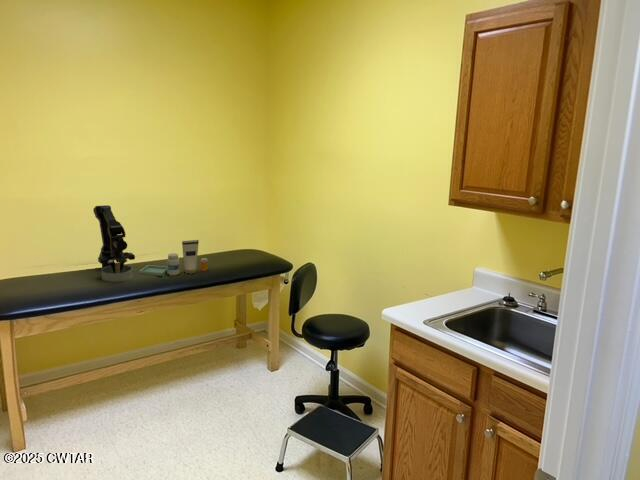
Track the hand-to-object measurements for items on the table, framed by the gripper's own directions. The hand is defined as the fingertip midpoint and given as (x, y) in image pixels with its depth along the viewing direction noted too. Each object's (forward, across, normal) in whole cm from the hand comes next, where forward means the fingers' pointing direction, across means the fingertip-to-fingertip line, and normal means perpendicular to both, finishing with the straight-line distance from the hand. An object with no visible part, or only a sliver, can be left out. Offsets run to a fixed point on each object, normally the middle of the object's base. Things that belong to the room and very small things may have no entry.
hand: (117, 272), depth 259 cm
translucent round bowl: (+4, 0, 0) cm, 4 cm away
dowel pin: (+3, 0, 0) cm, 3 cm away
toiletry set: (+4, +38, -10) cm, 40 cm away
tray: (+4, +21, -1) cm, 22 cm away
